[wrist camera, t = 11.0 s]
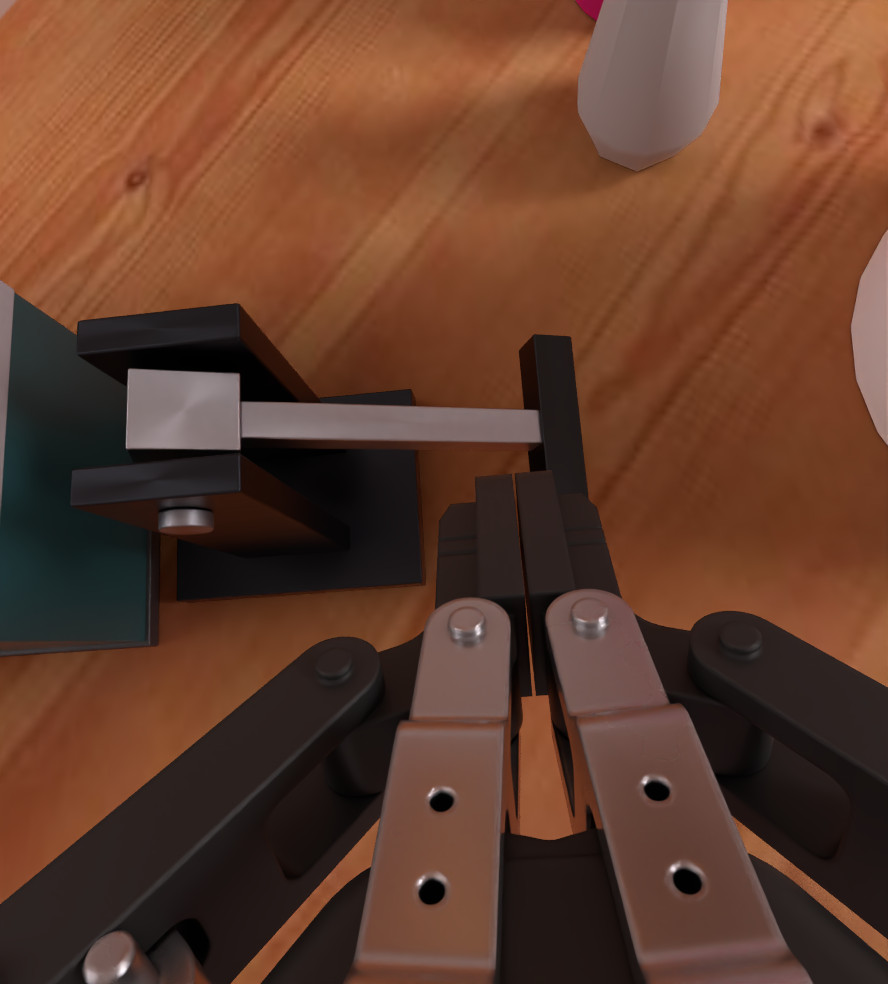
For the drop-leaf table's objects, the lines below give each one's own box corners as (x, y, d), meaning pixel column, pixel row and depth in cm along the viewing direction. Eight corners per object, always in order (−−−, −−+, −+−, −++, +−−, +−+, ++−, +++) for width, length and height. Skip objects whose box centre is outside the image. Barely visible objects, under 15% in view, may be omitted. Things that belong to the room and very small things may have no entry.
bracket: (415, 398, 31) (343, 235, 19) (426, 585, 29) (356, 544, 17) (190, 419, 32) (-20, 279, 20) (189, 602, 30) (-42, 576, 18)
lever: (548, 358, 25) (578, 328, 23) (565, 530, 24) (599, 516, 22) (139, 337, 21) (129, 299, 19) (135, 539, 20) (123, 523, 18)
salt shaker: (718, 86, 33) (843, -266, 20) (689, 199, 32) (801, -95, 19) (589, 64, 33) (631, -286, 21) (558, 173, 33) (581, -124, 20)
